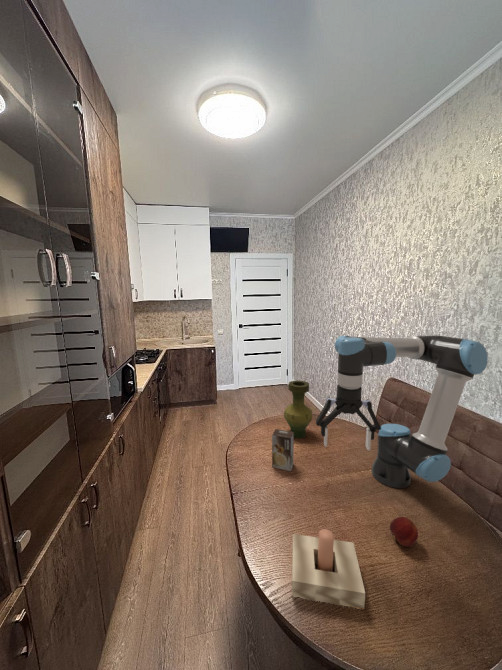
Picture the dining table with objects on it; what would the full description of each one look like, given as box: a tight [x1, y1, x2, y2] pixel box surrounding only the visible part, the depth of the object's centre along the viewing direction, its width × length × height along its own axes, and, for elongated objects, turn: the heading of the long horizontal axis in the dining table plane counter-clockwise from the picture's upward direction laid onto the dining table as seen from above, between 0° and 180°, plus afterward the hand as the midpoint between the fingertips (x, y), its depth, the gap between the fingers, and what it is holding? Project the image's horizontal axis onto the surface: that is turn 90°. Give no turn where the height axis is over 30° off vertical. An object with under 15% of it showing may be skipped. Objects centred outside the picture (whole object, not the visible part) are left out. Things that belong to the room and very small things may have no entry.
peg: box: [316, 528, 335, 572], centre depth 75 cm, size 4×4×13 cm
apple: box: [389, 516, 419, 547], centre depth 85 cm, size 7×8×8 cm
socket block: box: [291, 533, 366, 609], centre depth 75 cm, size 18×14×5 cm
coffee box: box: [271, 428, 295, 472], centre depth 124 cm, size 9×6×16 cm
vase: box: [283, 380, 313, 439], centre depth 151 cm, size 16×16×30 cm
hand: (346, 446), depth 89 cm, fingers open, 13 cm apart
